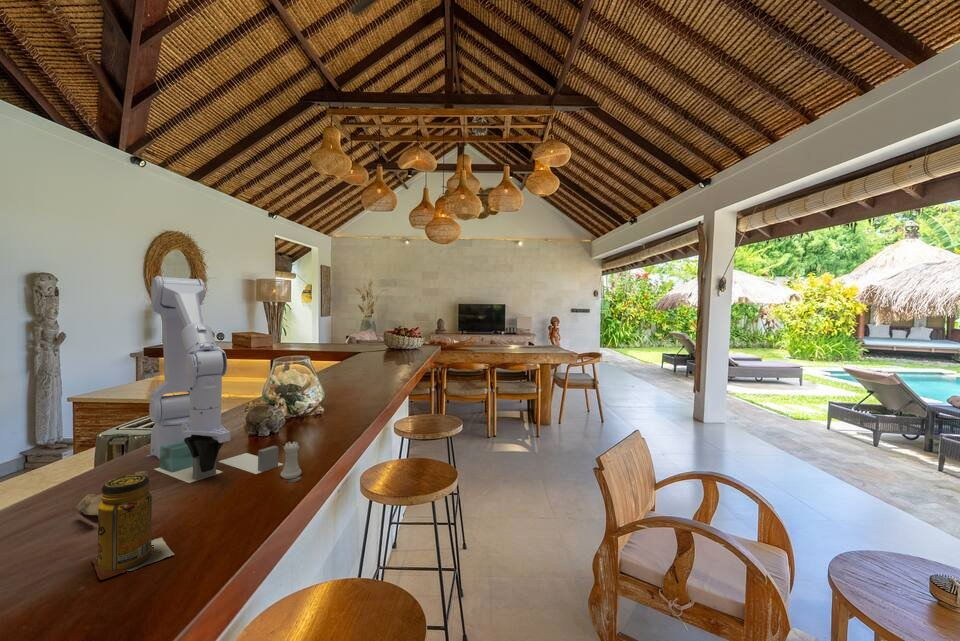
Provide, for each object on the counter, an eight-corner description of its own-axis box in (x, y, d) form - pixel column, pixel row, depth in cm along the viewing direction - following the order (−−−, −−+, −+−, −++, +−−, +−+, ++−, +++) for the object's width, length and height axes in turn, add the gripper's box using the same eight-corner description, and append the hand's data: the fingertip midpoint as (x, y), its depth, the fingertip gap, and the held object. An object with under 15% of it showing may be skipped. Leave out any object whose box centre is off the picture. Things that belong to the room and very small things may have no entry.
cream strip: (153, 472, 93) (153, 448, 93) (187, 462, 99) (187, 440, 99) (188, 486, 86) (189, 461, 86) (222, 475, 92) (223, 451, 92)
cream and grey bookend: (217, 464, 98) (218, 442, 98) (246, 456, 105) (246, 435, 104) (255, 477, 92) (256, 453, 92) (283, 467, 98) (284, 445, 98)
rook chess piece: (293, 484, 89) (294, 447, 89) (275, 482, 90) (275, 445, 90) (306, 476, 93) (306, 441, 93) (288, 474, 94) (289, 439, 94)
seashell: (65, 536, 68) (65, 504, 67) (99, 494, 82) (99, 468, 82) (129, 525, 71) (129, 494, 71) (150, 487, 86) (151, 462, 86)
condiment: (90, 561, 61) (91, 480, 61) (161, 538, 68) (162, 465, 67) (99, 583, 56) (100, 495, 56) (174, 556, 63) (175, 477, 63)
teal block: (159, 468, 93) (160, 445, 93) (184, 461, 98) (184, 440, 98) (171, 472, 91) (172, 450, 91) (196, 465, 95) (196, 443, 95)
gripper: (166, 405, 89) (165, 468, 89) (205, 415, 82) (204, 483, 83) (201, 399, 95) (200, 458, 96) (240, 408, 89) (239, 471, 89)
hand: (204, 469), depth 90 cm, fingers closed on cream strip
